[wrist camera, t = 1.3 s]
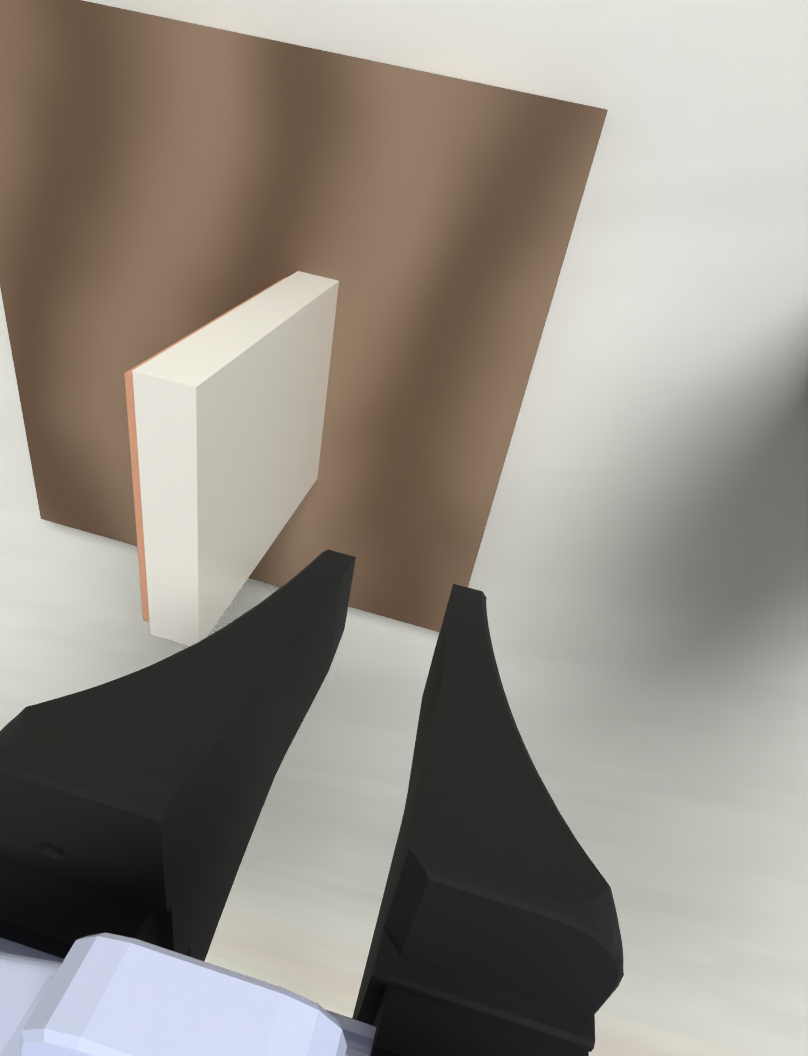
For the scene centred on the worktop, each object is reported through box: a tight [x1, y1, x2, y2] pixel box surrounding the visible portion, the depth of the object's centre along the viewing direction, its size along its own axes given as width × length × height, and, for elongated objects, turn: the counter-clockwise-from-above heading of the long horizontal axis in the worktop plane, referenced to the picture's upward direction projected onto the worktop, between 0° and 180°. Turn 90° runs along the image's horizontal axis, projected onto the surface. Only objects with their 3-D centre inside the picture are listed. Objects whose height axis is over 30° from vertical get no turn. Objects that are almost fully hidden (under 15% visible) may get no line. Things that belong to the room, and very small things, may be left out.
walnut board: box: [0, 0, 607, 632], centre depth 22 cm, size 18×18×1 cm
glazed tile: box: [124, 271, 339, 646], centre depth 18 cm, size 2×7×9 cm, turn 170°
